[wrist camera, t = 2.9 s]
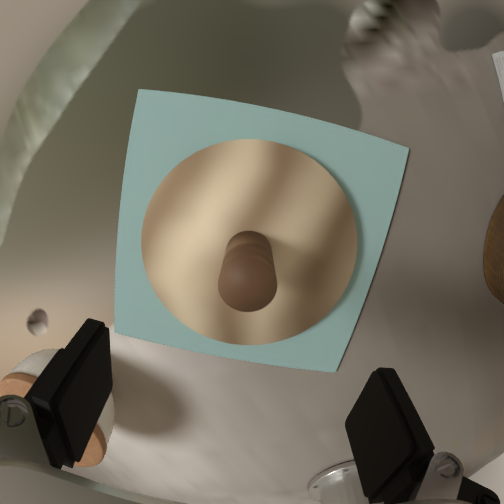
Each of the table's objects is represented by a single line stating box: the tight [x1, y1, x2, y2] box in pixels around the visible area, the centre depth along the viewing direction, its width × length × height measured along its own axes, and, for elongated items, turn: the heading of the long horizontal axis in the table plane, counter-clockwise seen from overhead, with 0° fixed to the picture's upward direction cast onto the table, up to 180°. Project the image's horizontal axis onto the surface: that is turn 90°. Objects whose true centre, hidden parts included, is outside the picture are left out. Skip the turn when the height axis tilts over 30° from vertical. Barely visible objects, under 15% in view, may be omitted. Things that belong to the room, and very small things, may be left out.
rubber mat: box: [115, 89, 409, 372], centre depth 26 cm, size 22×22×1 cm
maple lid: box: [141, 139, 357, 345], centre depth 22 cm, size 17×17×7 cm
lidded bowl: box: [0, 349, 115, 467], centre depth 26 cm, size 13×13×11 cm
